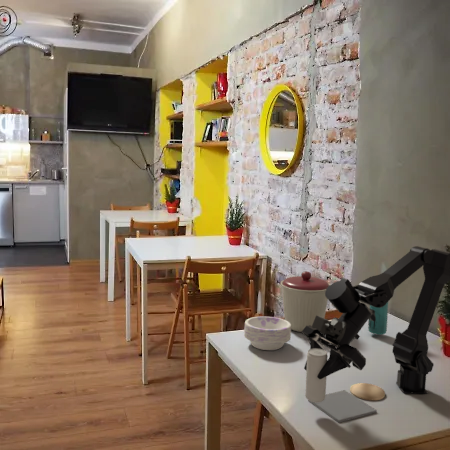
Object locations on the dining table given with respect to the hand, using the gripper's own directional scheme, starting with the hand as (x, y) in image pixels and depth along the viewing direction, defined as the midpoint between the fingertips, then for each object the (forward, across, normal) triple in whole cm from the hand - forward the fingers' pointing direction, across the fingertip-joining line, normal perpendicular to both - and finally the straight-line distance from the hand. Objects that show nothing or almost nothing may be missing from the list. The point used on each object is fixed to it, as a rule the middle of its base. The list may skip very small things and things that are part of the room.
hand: (311, 374), depth 127 cm
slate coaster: (0, 0, +14) cm, 14 cm away
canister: (-18, -53, +34) cm, 65 cm away
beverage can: (+4, 0, +6) cm, 7 cm away
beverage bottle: (-32, -36, +48) cm, 68 cm away
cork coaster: (-8, -3, +23) cm, 24 cm away
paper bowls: (-3, -44, +18) cm, 47 cm away
